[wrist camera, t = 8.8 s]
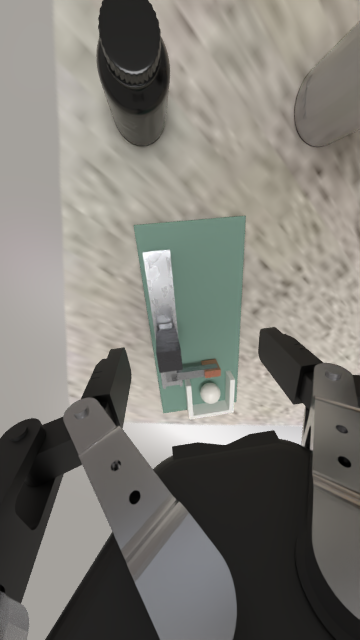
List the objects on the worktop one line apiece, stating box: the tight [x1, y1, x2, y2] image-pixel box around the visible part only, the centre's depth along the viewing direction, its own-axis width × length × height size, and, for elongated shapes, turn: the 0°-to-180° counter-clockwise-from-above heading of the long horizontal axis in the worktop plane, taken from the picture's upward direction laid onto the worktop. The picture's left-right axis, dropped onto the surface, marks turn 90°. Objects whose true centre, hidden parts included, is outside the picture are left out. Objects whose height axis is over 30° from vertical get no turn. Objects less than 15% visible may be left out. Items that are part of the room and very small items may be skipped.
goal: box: [185, 371, 235, 420], centre depth 46 cm, size 10×10×3 cm
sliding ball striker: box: [156, 323, 221, 382], centre depth 36 cm, size 12×12×10 cm
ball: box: [200, 383, 220, 404], centre depth 45 cm, size 4×4×4 cm
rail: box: [143, 249, 183, 389], centre depth 38 cm, size 4×28×2 cm, turn 5°
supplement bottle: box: [97, 0, 170, 146], centre depth 21 cm, size 7×7×12 cm
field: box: [134, 216, 246, 413], centre depth 41 cm, size 18×41×1 cm, turn 5°
